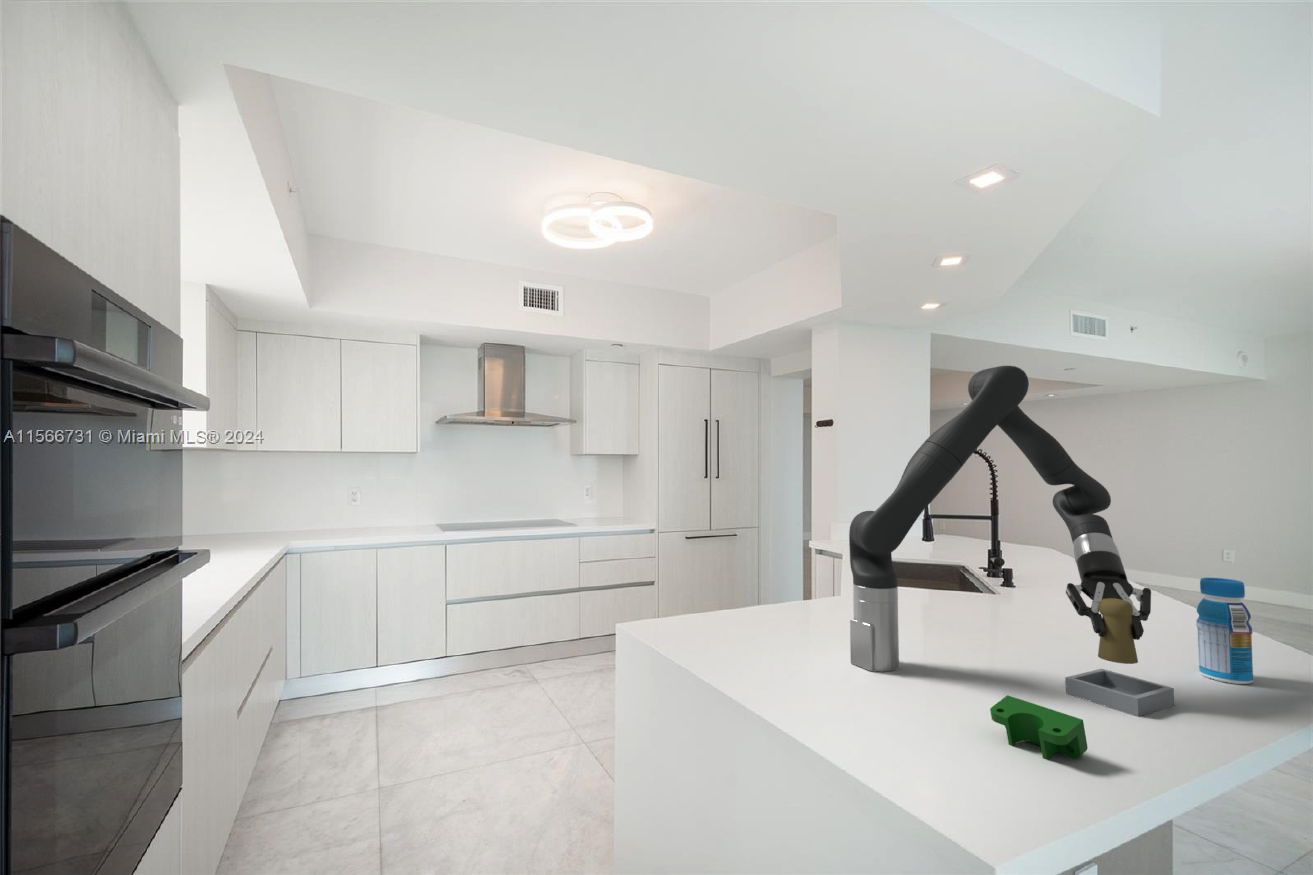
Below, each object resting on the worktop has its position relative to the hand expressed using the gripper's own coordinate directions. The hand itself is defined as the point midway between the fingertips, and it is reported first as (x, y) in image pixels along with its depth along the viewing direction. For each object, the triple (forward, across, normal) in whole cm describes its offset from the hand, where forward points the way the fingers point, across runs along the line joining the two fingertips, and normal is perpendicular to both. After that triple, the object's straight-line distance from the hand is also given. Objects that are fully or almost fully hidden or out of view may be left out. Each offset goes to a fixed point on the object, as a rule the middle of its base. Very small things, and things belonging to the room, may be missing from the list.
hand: (1119, 635), depth 112 cm
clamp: (+28, -18, -11) cm, 35 cm away
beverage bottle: (-8, +24, +26) cm, 36 cm away
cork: (+2, 0, +5) cm, 5 cm away
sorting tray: (+7, 0, +10) cm, 12 cm away
